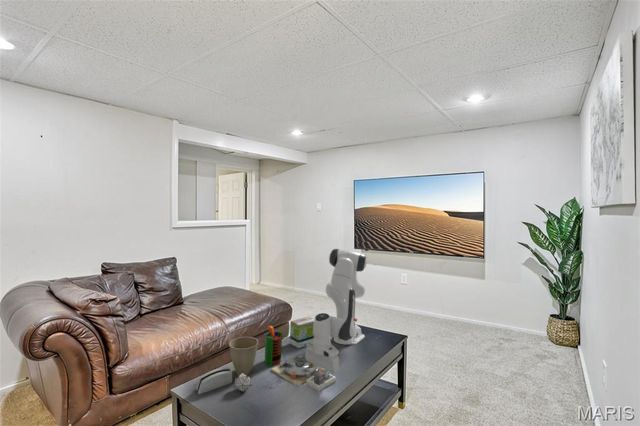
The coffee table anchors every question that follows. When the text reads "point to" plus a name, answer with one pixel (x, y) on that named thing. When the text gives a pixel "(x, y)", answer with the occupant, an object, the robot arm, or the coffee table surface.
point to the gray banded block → (320, 377)
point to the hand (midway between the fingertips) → (321, 374)
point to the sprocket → (297, 367)
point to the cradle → (319, 387)
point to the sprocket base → (296, 381)
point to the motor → (273, 347)
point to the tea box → (301, 332)
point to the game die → (242, 382)
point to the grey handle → (214, 380)
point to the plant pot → (243, 353)
